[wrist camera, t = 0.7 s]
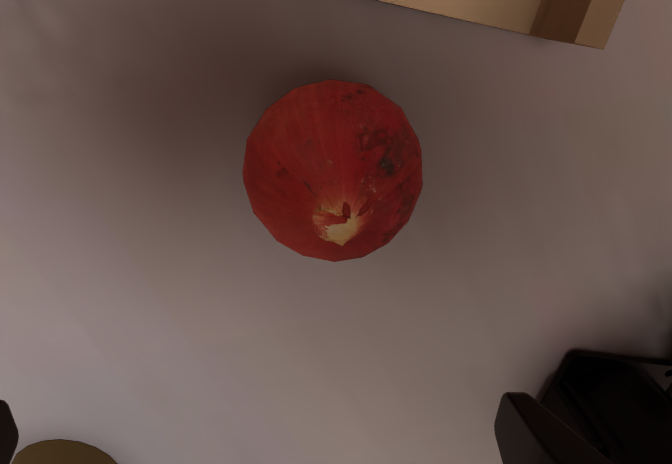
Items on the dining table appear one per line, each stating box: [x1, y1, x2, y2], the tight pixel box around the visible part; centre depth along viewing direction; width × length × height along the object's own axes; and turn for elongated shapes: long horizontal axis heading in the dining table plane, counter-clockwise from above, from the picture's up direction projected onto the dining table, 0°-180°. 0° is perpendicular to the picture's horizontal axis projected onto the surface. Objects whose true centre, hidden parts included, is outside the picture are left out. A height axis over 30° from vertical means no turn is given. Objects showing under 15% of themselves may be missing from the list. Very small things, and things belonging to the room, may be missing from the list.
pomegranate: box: [243, 79, 423, 262], centre depth 15 cm, size 6×6×8 cm
